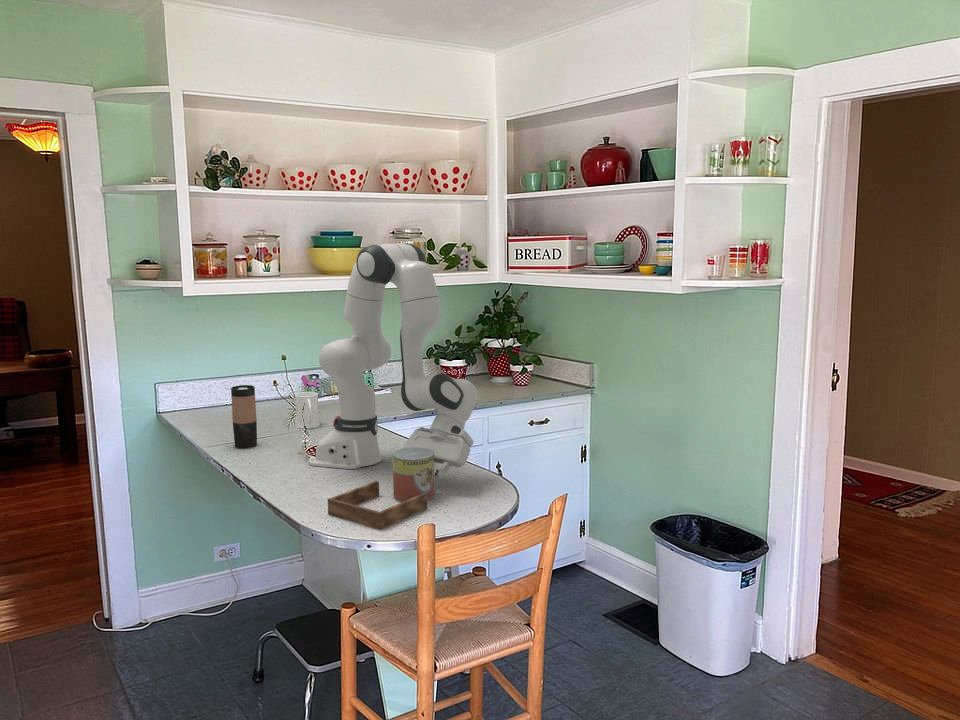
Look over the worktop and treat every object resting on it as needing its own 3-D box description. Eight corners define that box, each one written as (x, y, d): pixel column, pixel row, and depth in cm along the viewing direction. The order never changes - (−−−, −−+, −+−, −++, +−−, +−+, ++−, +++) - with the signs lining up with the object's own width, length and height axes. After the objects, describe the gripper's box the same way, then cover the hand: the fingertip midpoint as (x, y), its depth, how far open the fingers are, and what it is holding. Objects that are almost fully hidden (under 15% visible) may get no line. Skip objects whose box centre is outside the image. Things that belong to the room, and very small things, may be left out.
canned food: (410, 506, 211) (409, 462, 209) (384, 495, 219) (383, 453, 217) (443, 496, 219) (442, 453, 217) (417, 486, 227) (416, 445, 225)
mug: (321, 430, 288) (320, 397, 286) (297, 432, 286) (295, 399, 284) (318, 422, 299) (317, 390, 297) (295, 424, 297) (293, 392, 295)
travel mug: (262, 443, 271) (259, 385, 268) (250, 449, 264) (246, 390, 260) (242, 442, 273) (238, 384, 270) (229, 448, 266) (226, 389, 262)
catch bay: (376, 494, 220) (376, 480, 219) (427, 508, 210) (426, 493, 209) (328, 514, 206) (327, 499, 205) (379, 529, 195) (379, 513, 195)
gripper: (411, 420, 231) (390, 461, 225) (469, 431, 220) (447, 474, 214) (422, 432, 236) (400, 472, 230) (478, 443, 224) (457, 486, 218)
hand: (423, 473), depth 221 cm, fingers open, 8 cm apart
